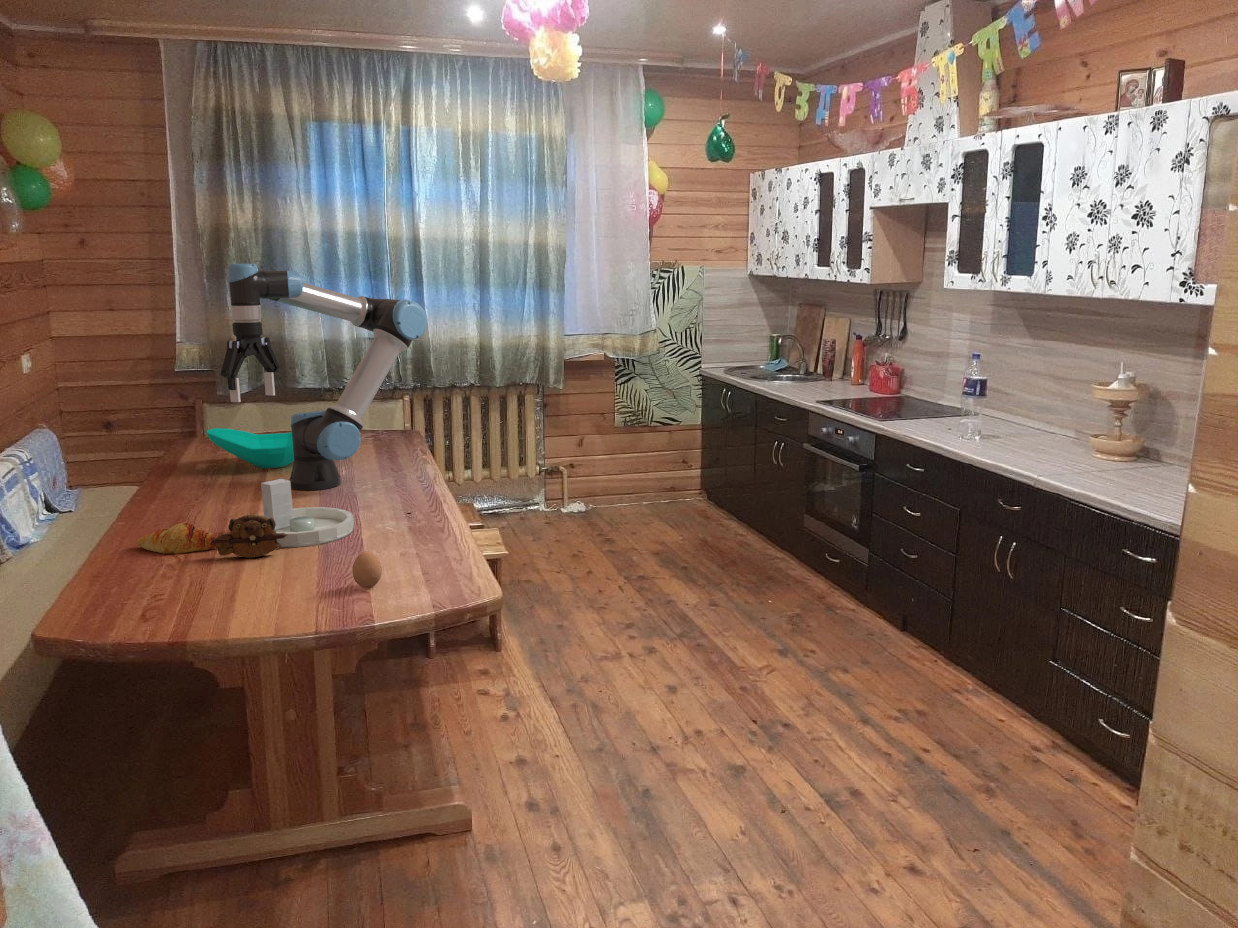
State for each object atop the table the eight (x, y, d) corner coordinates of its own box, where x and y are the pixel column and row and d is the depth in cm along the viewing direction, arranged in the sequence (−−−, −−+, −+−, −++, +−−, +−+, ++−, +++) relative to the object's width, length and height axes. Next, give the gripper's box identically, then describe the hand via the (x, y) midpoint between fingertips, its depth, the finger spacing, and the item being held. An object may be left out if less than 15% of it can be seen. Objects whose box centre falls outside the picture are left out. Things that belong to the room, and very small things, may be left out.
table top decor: (204, 479, 297) (200, 438, 294) (214, 462, 323) (210, 424, 320) (334, 471, 308) (331, 432, 306) (333, 455, 334) (331, 418, 332)
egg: (388, 587, 199) (386, 551, 197) (363, 594, 194) (361, 557, 193) (372, 580, 203) (370, 545, 201) (347, 587, 198) (345, 552, 196)
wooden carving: (212, 563, 214) (208, 521, 212) (215, 557, 219) (211, 516, 217) (288, 557, 219) (285, 516, 217) (289, 551, 223) (286, 511, 221)
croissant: (133, 566, 223) (121, 542, 218) (149, 536, 231) (137, 513, 226) (221, 564, 223) (211, 540, 218) (234, 534, 231) (225, 511, 226)
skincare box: (284, 522, 244) (281, 478, 241) (294, 525, 241) (291, 480, 239) (263, 528, 239) (260, 482, 236) (273, 530, 237) (270, 484, 234)
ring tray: (295, 516, 254) (294, 503, 253) (373, 525, 245) (372, 512, 245) (228, 541, 231) (226, 527, 230) (310, 552, 222) (309, 538, 222)
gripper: (267, 318, 267) (273, 392, 271) (201, 323, 244) (209, 404, 248) (288, 319, 264) (294, 393, 269) (224, 324, 241) (231, 405, 246)
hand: (253, 398), depth 259 cm, fingers open, 13 cm apart
